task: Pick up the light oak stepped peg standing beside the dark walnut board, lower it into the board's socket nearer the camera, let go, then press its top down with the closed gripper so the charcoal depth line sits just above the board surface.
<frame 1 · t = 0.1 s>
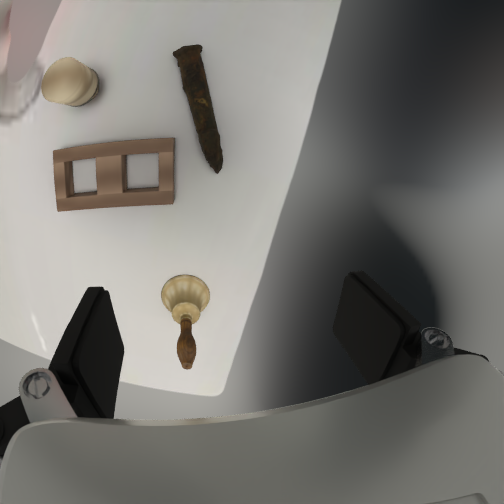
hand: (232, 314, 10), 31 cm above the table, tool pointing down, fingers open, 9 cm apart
hand bell: (185, 295, 45), on the table
hand tool: (204, 108, 34), on the table
walnut board: (114, 172, 34), on the table
oak peg: (89, 90, 28), on the table
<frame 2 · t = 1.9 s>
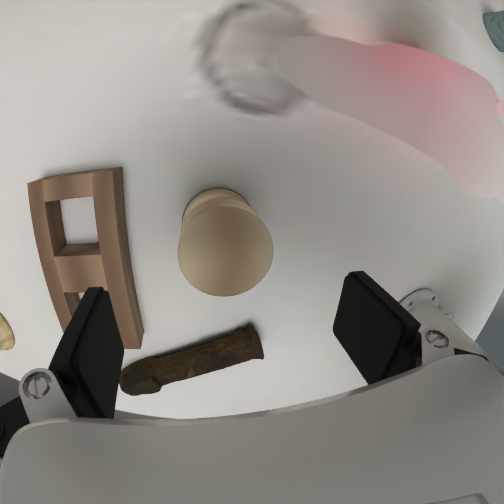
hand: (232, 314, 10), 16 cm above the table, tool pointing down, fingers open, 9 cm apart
grey embossed cup: (493, 33, 19), on the table
hand tool: (185, 354, 31), on the table
walnut board: (90, 261, 24), on the table
oak peg: (214, 211, 25), on the table
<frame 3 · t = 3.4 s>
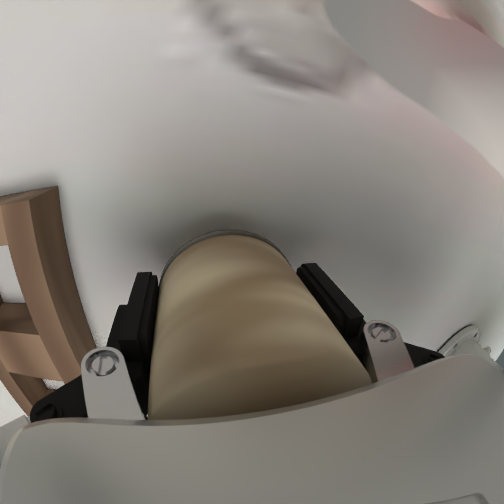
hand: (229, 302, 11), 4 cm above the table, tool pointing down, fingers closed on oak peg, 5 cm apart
walnut board: (36, 327, 13), on the table
oak peg: (218, 259, 14), on the table, touching gripper
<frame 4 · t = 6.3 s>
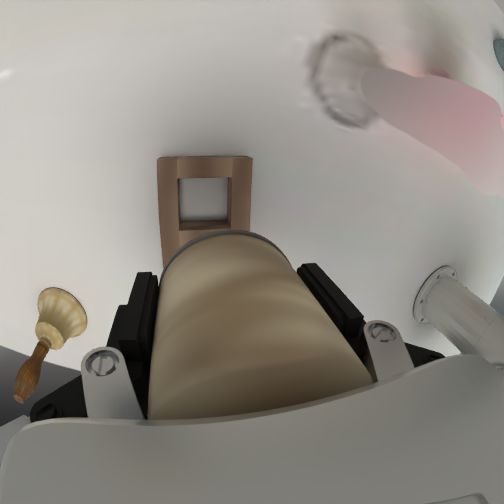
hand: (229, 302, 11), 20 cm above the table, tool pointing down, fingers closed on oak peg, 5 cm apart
grey embossed cup: (500, 56, 26), on the table
hand bell: (62, 312, 30), on the table
walnut board: (204, 237, 30), on the table
oak peg: (218, 259, 14), point 16 cm above the table, touching gripper
when the fingers open (4 cm above the table, at t = 9.0 s): oak peg stays where it is, resting in walnut board.
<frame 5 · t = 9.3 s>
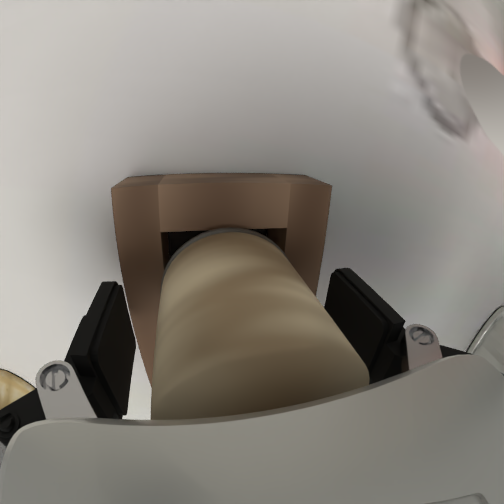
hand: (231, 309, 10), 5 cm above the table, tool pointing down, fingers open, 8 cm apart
hand bell: (22, 395, 16), on the table
walnut board: (219, 323, 16), on the table
oak peg: (219, 257, 15), resting in walnut board
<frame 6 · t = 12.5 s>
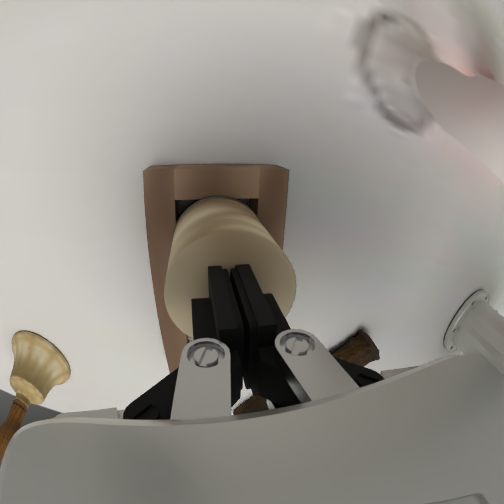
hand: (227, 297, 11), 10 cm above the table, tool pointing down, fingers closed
hand bell: (40, 357, 22), on the table
hand tool: (299, 376, 30), on the table
walnut board: (214, 277, 22), on the table
oak peg: (214, 224, 20), resting in walnut board, touching gripper
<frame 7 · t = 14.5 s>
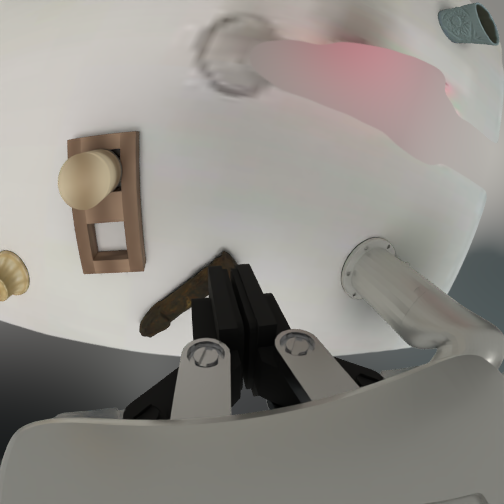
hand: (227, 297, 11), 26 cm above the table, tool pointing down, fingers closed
grey embossed cup: (448, 27, 29), on the table
hand bell: (12, 272, 31), on the table
hand tool: (185, 292, 41), on the table
walnut board: (108, 201, 32), on the table
oak peg: (107, 168, 30), resting in walnut board
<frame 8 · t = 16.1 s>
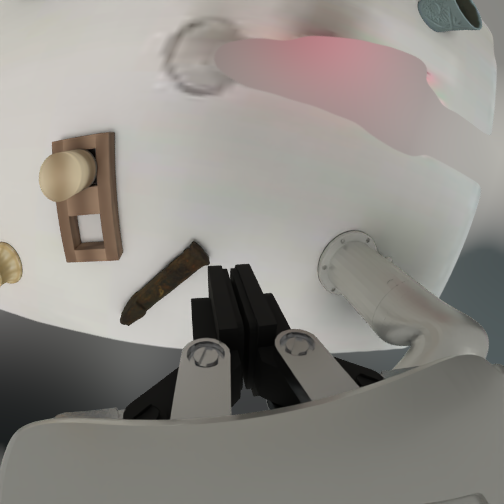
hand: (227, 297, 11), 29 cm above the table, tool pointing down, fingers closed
grey embossed cup: (429, 16, 30), on the table
hand bell: (7, 262, 34), on the table
hand tool: (161, 283, 42), on the table
walnut board: (89, 196, 34), on the table
oak peg: (87, 166, 32), resting in walnut board
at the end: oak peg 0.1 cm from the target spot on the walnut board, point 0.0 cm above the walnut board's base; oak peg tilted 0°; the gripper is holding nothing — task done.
